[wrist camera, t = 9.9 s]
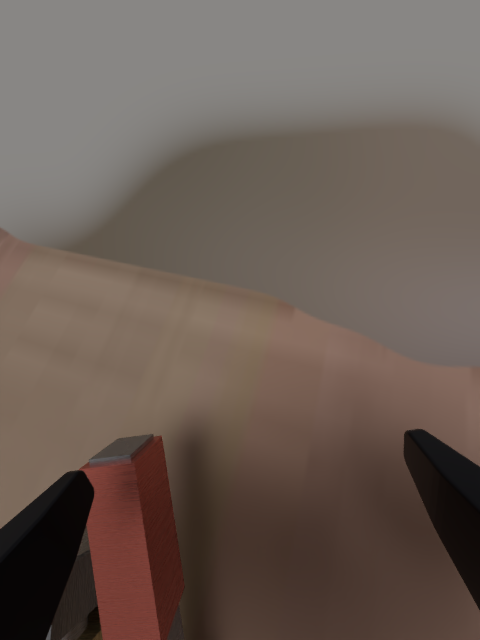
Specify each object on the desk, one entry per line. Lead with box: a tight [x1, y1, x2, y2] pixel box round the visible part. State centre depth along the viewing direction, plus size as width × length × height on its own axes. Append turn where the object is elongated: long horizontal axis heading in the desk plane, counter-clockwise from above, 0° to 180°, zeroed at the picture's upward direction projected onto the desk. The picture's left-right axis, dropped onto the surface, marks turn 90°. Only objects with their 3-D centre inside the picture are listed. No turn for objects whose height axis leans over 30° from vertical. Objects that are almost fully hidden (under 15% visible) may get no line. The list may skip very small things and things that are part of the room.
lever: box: [79, 434, 185, 640], centre depth 11 cm, size 3×2×14 cm
